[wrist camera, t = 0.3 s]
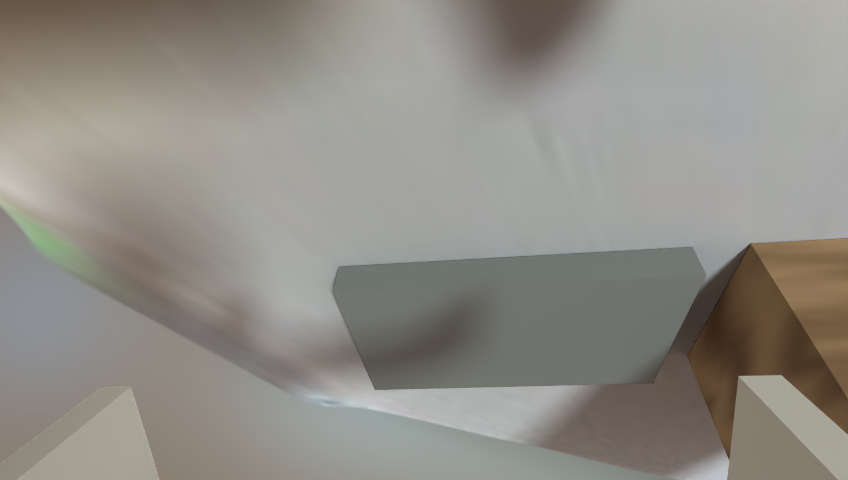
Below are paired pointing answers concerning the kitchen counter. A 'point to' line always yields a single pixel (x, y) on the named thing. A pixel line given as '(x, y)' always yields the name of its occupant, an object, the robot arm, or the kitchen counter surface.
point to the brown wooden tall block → (779, 329)
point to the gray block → (519, 318)
